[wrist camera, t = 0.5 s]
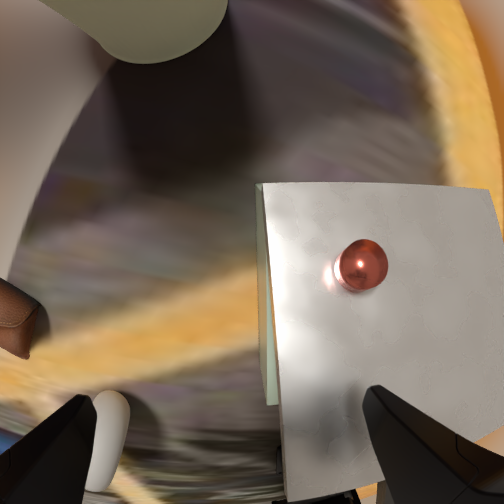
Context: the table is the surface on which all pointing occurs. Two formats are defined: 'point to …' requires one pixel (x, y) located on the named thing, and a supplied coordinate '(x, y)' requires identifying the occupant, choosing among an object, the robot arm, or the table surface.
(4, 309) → the sunglasses case
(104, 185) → the table surface
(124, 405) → the donut
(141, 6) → the can
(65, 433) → the robot arm
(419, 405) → the lid
